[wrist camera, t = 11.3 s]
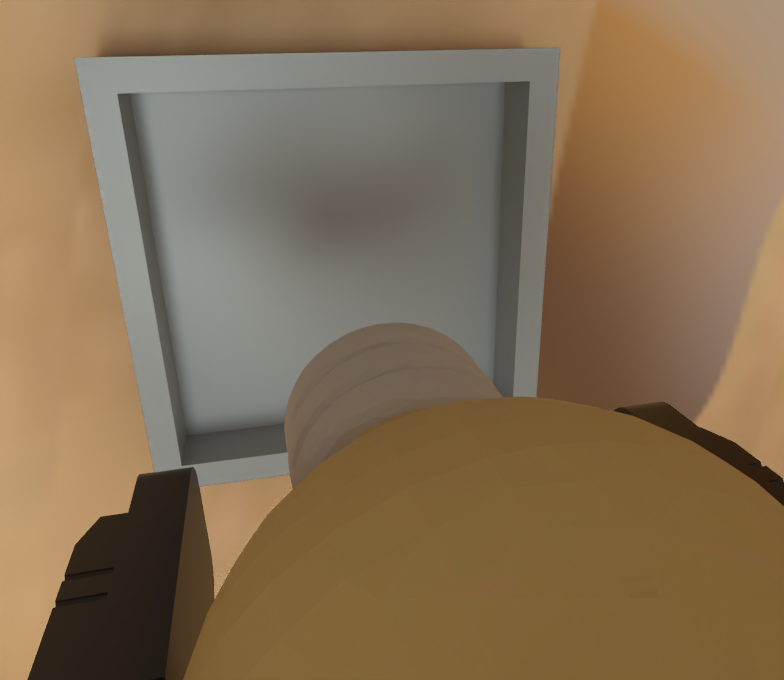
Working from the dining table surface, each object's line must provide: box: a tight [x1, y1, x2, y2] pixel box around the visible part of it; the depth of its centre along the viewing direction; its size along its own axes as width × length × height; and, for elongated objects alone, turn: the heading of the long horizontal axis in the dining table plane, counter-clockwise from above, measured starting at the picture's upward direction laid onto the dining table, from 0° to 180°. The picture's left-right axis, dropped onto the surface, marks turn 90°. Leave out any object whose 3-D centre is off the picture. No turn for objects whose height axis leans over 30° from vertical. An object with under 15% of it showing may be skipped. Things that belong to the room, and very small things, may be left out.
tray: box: [74, 48, 560, 487], centre depth 19 cm, size 12×12×2 cm
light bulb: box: [183, 322, 784, 680], centre depth 8 cm, size 6×6×10 cm
